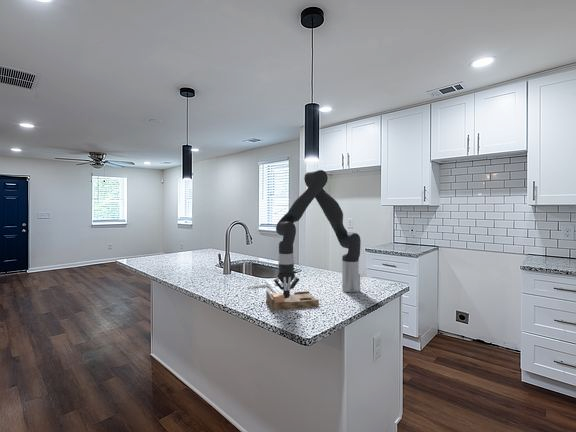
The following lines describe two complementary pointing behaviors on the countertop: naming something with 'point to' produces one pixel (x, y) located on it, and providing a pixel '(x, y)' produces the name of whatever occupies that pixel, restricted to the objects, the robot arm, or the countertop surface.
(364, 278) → the countertop surface
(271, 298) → the brown wooden compartment frame
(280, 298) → the block
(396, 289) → the countertop surface
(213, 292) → the countertop surface
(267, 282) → the articulated figure
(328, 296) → the countertop surface
